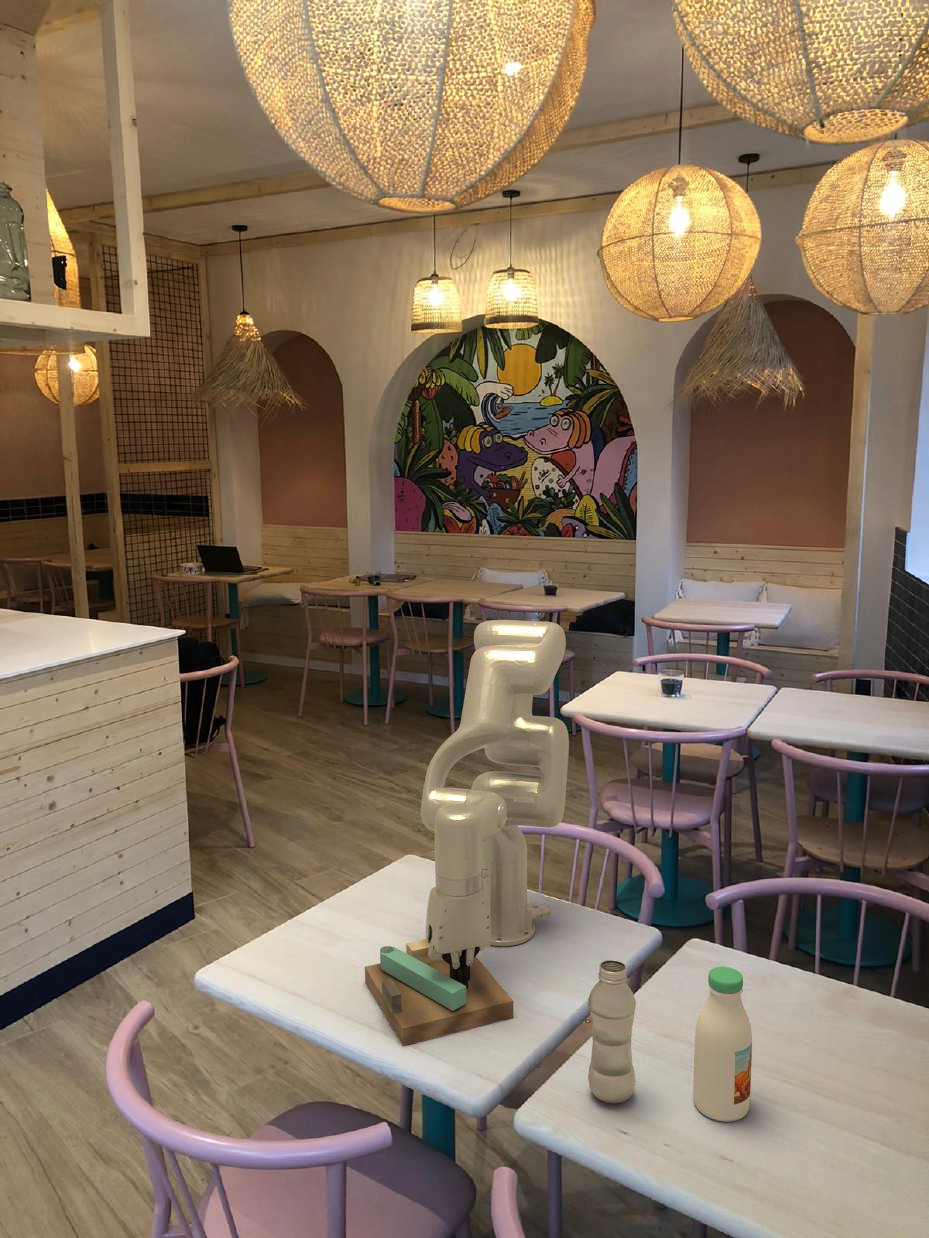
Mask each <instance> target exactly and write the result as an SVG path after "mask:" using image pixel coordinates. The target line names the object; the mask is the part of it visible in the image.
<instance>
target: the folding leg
mask: <svg viewBox="0 0 929 1238" xmlns="http://www.w3.org/2000/svg"><path fill="white" fill-rule="evenodd" d="M379 955H380V958H379V960H380V963H381V969H382V970H383V971H385V972H387V973H389V974H390V975H392V976H394V977H395V978H397V979H399V980H401V981H402V982H404V983H406V984H407V985H409V986H411V987H413V988H414V989H416V990H418V991H419V992H421V993H423V994H425V995H426V996H428V997H430V998H431V999H433V1000H435V1001H437V1002H438V1003H440V1004H442V1005H443V1006H445V1007H447V1008H449V1009H450V1010H452V1011H454V1010H455V1009H457V1008H459V1007H461V1006H463V1005H464V1004H466V986H465V985H463V984H461V983H459V982H457V981H456V980H454V979H452V978H450V977H448V976H447V975H445V974H443V973H441V972H439V971H437V970H436V969H434V968H432V967H430V966H428V965H426V964H425V963H423V962H421V961H419V960H417V959H416V958H414V957H412V956H410V955H408V954H406V952H405V951H403V950H402V949H399V948H397V947H395V946H391V945H385V946H382V947H381V948H380V949H379Z"/></svg>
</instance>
